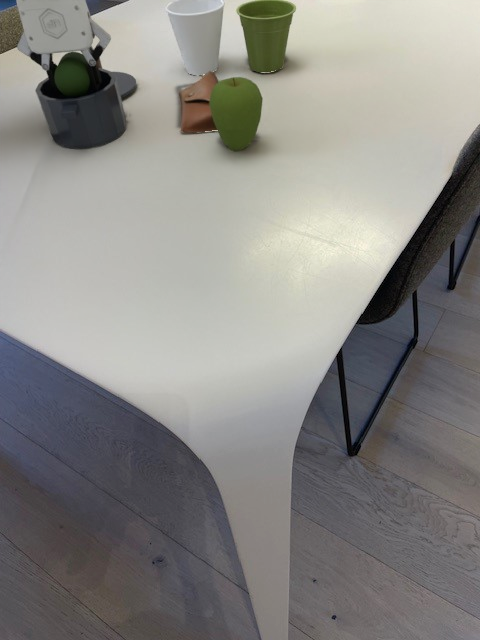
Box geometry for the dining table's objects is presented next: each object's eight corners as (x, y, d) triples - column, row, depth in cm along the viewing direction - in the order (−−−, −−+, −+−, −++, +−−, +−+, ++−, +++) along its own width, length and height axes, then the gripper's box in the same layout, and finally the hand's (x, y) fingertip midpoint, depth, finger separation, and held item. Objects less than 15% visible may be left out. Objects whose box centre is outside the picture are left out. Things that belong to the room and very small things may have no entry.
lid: (60, 110, 98) (48, 72, 92) (73, 80, 108) (62, 44, 102) (134, 103, 98) (125, 65, 92) (139, 74, 107) (132, 38, 102)
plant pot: (254, 83, 101) (251, 22, 92) (231, 64, 108) (227, 5, 100) (304, 71, 103) (307, 10, 95) (279, 53, 111) (279, -5, 103)
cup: (164, 77, 106) (153, 11, 96) (191, 56, 113) (183, -7, 103) (213, 84, 102) (207, 16, 93) (238, 62, 109) (234, -3, 100)
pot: (42, 160, 85) (23, 111, 78) (63, 110, 98) (48, 65, 91) (121, 153, 85) (108, 104, 78) (131, 104, 97) (121, 59, 91)
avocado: (91, 101, 83) (80, 66, 78) (58, 105, 83) (46, 70, 78) (98, 78, 89) (89, 45, 85) (68, 81, 89) (57, 48, 85)
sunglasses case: (176, 91, 99) (189, 58, 95) (207, 105, 102) (221, 74, 98) (179, 133, 87) (195, 98, 83) (215, 148, 90) (232, 115, 86)
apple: (248, 165, 79) (244, 93, 71) (204, 154, 83) (195, 84, 74) (272, 140, 84) (271, 70, 76) (230, 131, 87) (224, 63, 79)
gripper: (-26, -24, 70) (24, 103, 83) (95, -35, 70) (125, 94, 83) (-11, -37, 75) (34, 85, 88) (102, -48, 75) (129, 76, 88)
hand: (78, 88), depth 85 cm, fingers closed on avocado, 5 cm apart
